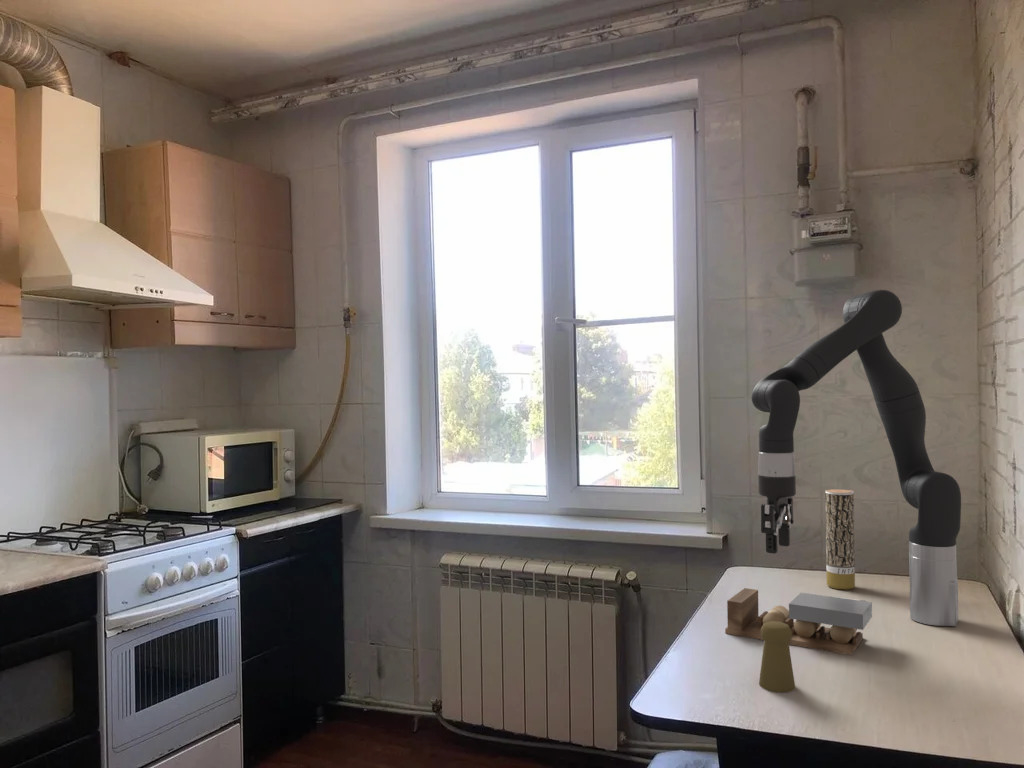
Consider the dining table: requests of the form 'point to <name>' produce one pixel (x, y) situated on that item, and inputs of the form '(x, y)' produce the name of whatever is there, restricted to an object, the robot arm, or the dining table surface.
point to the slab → (831, 610)
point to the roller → (776, 615)
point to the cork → (776, 658)
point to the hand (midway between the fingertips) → (778, 549)
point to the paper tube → (840, 539)
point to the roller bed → (803, 632)
